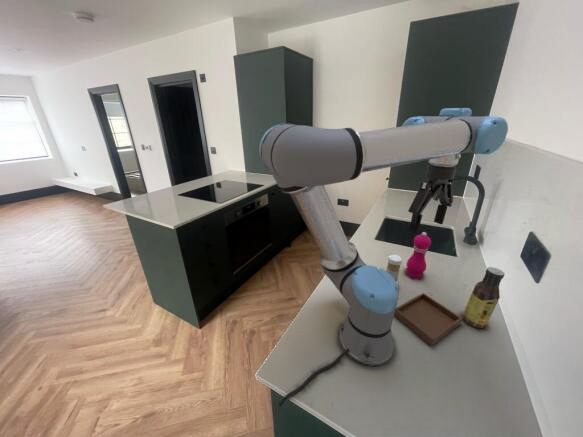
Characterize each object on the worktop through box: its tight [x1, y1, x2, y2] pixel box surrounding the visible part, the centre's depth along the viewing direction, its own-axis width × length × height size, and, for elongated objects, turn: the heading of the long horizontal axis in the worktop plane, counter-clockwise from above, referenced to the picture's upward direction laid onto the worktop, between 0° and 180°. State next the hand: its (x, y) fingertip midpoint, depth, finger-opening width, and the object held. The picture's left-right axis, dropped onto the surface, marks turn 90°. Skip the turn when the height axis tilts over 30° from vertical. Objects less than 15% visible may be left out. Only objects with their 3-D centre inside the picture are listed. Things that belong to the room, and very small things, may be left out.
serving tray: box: [394, 292, 463, 347], centre depth 75 cm, size 15×13×3 cm
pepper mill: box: [405, 231, 432, 280], centre depth 93 cm, size 7×7×20 cm
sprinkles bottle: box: [385, 254, 403, 284], centre depth 88 cm, size 5×5×14 cm
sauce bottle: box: [462, 266, 505, 329], centre depth 71 cm, size 7×6×20 cm
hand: (426, 227), depth 78 cm, fingers open, 13 cm apart
